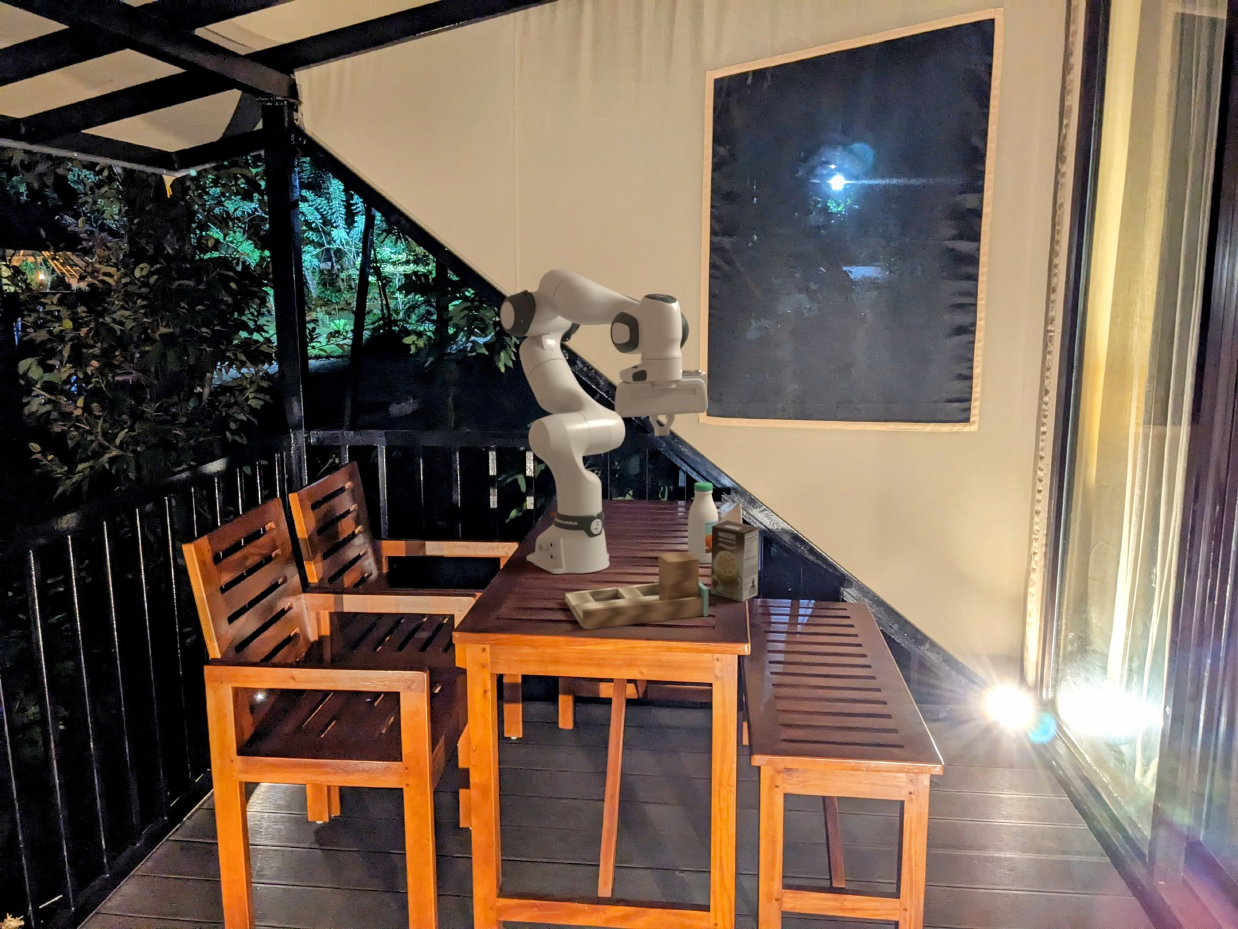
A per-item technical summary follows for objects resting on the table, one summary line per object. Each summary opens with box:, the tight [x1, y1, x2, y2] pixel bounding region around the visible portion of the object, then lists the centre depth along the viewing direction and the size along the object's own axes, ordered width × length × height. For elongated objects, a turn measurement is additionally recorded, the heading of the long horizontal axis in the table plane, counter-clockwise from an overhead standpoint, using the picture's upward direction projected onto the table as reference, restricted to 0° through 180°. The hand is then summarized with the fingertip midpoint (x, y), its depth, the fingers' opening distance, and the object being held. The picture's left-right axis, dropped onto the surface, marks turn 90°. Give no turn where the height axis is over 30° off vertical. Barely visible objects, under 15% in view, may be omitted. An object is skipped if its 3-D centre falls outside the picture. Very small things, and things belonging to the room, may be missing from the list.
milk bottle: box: [687, 481, 719, 564], centre depth 229 cm, size 8×8×20 cm
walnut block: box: [658, 551, 700, 601], centre depth 194 cm, size 7×6×10 cm
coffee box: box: [710, 520, 760, 602], centre depth 204 cm, size 9×6×16 cm
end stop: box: [699, 580, 709, 617], centre depth 200 cm, size 1×18×6 cm, turn 16°
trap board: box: [564, 582, 704, 630], centre depth 197 cm, size 26×18×4 cm
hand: (662, 435), depth 196 cm, fingers closed
